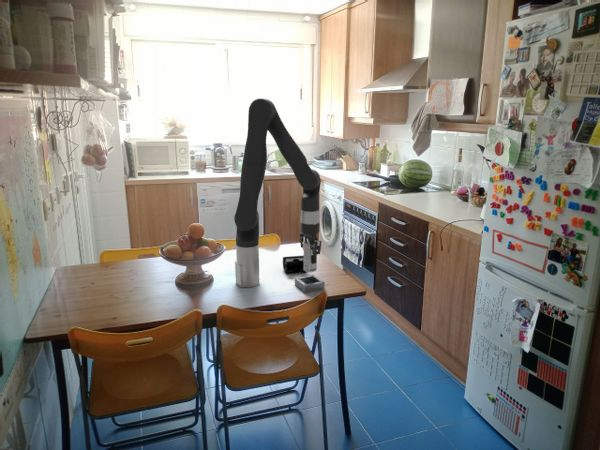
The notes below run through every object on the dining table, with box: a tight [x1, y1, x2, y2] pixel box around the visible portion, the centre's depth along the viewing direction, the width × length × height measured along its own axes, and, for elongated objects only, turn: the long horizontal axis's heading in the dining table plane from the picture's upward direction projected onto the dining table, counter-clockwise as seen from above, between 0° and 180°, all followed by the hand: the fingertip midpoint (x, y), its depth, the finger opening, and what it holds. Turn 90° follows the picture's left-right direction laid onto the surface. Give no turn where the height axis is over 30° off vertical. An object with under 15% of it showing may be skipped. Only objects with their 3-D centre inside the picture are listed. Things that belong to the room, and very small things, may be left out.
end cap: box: [282, 255, 307, 275], centre depth 200 cm, size 10×7×7 cm
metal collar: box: [294, 274, 326, 294], centre depth 183 cm, size 9×9×3 cm
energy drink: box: [303, 242, 318, 273], centre depth 180 cm, size 5×5×12 cm
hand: (310, 260), depth 180 cm, fingers closed on energy drink, 5 cm apart
